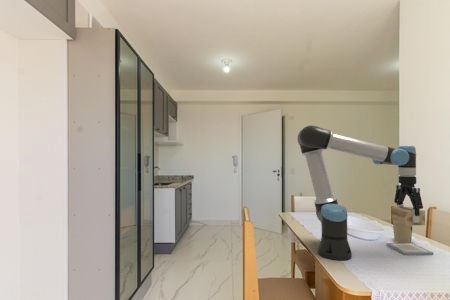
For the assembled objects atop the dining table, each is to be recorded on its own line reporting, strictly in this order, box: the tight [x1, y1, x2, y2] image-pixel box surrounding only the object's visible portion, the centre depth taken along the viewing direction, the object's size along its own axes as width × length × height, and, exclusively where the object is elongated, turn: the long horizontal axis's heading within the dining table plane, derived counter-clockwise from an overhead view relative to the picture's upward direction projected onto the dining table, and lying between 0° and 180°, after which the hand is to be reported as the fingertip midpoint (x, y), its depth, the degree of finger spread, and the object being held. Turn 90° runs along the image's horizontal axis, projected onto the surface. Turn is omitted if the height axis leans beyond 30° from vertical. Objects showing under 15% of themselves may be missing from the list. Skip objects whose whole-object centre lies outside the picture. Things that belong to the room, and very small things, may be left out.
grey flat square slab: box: [385, 242, 434, 256], centre depth 135 cm, size 14×14×1 cm
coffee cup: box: [392, 221, 413, 243], centre depth 148 cm, size 9×9×12 cm
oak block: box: [391, 206, 426, 226], centre depth 135 cm, size 10×10×7 cm
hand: (408, 219), depth 135 cm, fingers closed on oak block, 10 cm apart
